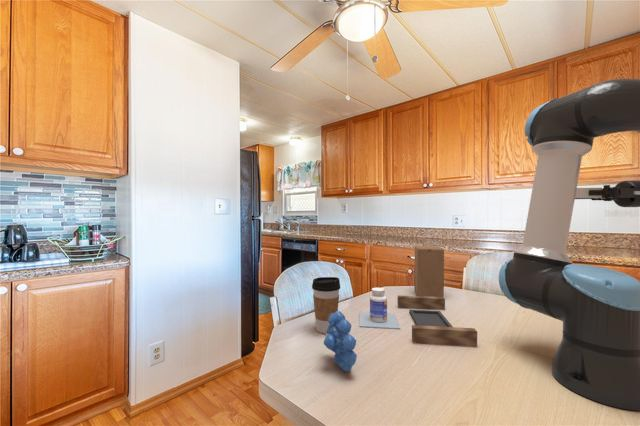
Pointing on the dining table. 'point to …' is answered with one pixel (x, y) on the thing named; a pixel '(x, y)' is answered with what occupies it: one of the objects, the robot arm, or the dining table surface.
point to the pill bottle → (378, 305)
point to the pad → (367, 322)
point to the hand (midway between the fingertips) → (555, 194)
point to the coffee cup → (325, 300)
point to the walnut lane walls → (436, 333)
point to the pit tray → (429, 318)
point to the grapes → (341, 341)
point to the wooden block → (429, 271)
